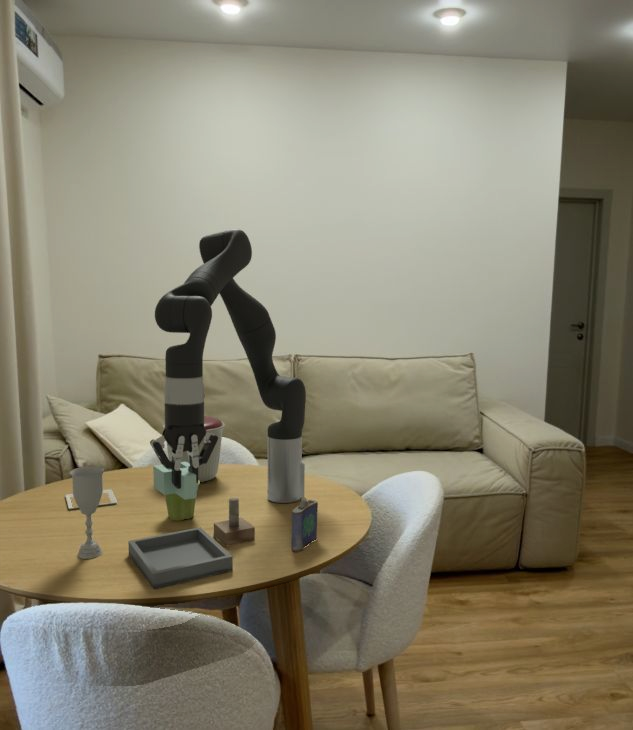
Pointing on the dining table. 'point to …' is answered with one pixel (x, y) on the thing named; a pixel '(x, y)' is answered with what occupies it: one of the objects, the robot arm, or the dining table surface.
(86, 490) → the chalice
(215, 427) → the canister
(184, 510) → the plant pot
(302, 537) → the flask
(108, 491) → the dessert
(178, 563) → the tray
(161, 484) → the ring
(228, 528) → the brown peg stand
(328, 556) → the dining table surface
